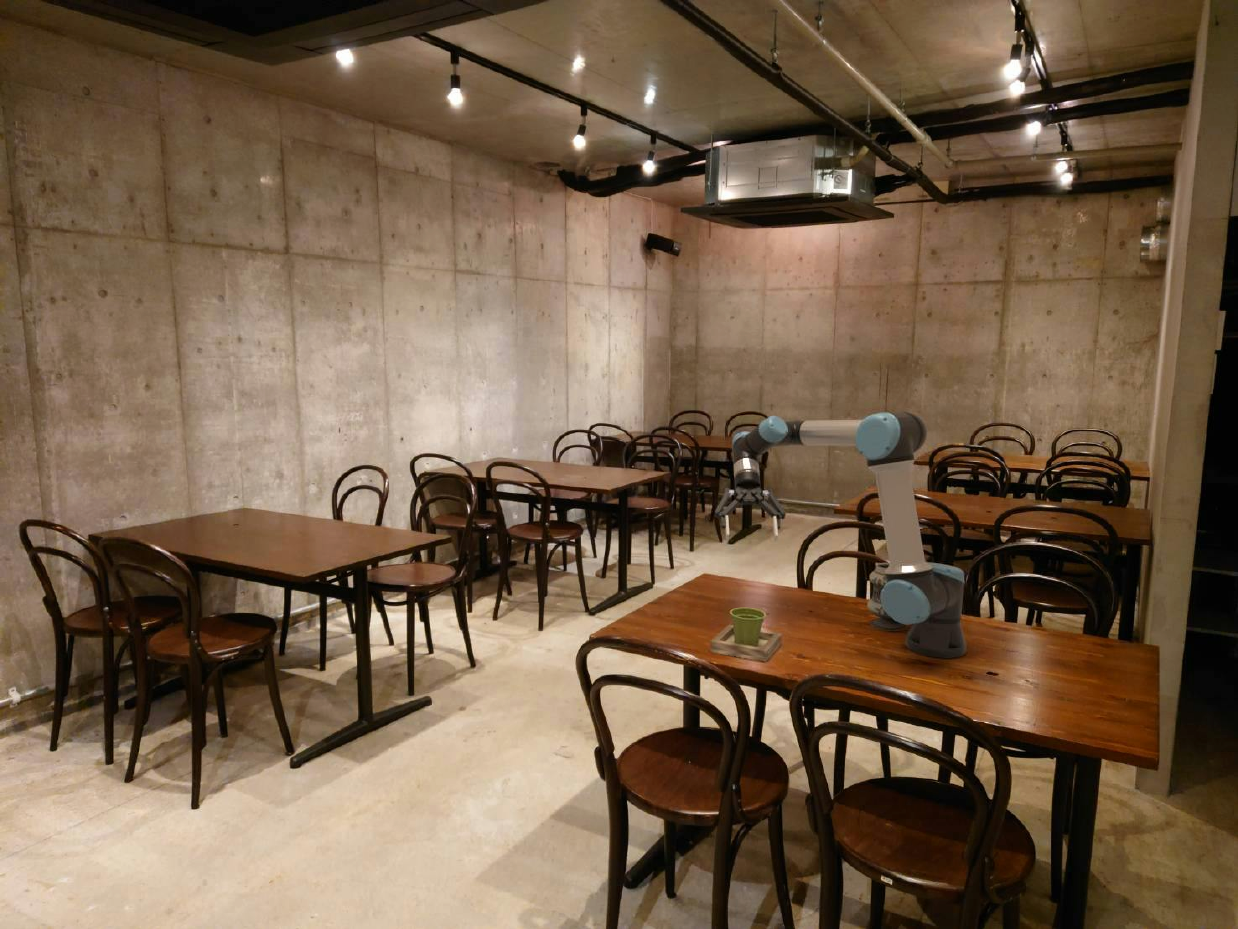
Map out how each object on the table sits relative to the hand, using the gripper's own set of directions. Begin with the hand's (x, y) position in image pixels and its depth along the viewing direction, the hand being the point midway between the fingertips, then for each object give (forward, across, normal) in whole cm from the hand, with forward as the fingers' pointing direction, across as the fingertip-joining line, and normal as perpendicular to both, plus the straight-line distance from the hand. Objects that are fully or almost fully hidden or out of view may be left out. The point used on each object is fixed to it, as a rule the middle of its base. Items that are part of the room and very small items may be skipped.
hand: (751, 537), depth 220 cm
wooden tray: (+29, +2, -9) cm, 31 cm away
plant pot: (+29, +2, -8) cm, 30 cm away
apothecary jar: (+14, -41, -24) cm, 50 cm away
